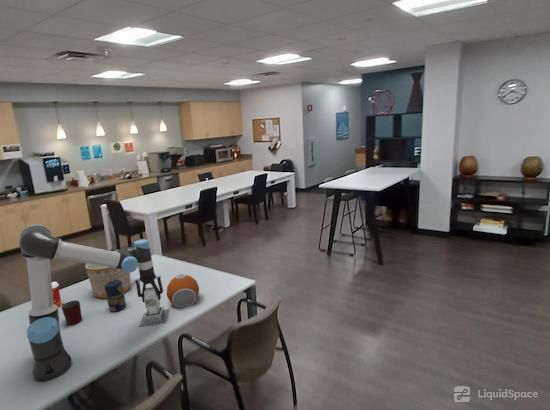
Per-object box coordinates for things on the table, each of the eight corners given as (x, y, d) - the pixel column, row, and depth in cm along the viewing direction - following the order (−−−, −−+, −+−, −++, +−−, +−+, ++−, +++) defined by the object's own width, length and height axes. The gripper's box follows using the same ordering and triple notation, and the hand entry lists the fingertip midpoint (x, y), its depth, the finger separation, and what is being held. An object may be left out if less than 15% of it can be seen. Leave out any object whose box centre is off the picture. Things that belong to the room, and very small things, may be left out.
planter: (103, 304, 217) (97, 272, 212) (84, 295, 233) (77, 264, 228) (141, 287, 237) (135, 257, 232) (121, 279, 252) (115, 251, 248)
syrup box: (159, 308, 198) (155, 285, 195) (158, 313, 193) (154, 290, 189) (149, 310, 197) (145, 287, 194) (148, 315, 192) (143, 291, 188)
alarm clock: (198, 292, 223) (195, 267, 219) (202, 304, 206) (198, 277, 202) (168, 299, 217) (163, 273, 213) (168, 312, 201) (164, 284, 197)
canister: (120, 312, 205) (114, 284, 201) (105, 312, 207) (100, 284, 203) (129, 304, 214) (124, 277, 210) (116, 304, 216) (110, 277, 212)
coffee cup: (45, 308, 218) (40, 286, 215) (58, 302, 225) (53, 280, 222) (53, 310, 214) (47, 288, 211) (66, 304, 221) (61, 282, 218)
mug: (58, 323, 198) (54, 306, 196) (72, 315, 206) (68, 298, 204) (72, 327, 194) (68, 309, 191) (86, 318, 201) (82, 301, 199)
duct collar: (166, 322, 190) (164, 316, 189) (139, 327, 188) (138, 320, 187) (169, 310, 203) (168, 303, 203) (144, 313, 201) (143, 307, 201)
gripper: (164, 262, 194) (171, 300, 199) (129, 267, 191) (136, 305, 196) (162, 267, 186) (169, 306, 192) (126, 272, 184) (133, 312, 189)
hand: (152, 306), depth 194 cm, fingers closed on syrup box, 6 cm apart
